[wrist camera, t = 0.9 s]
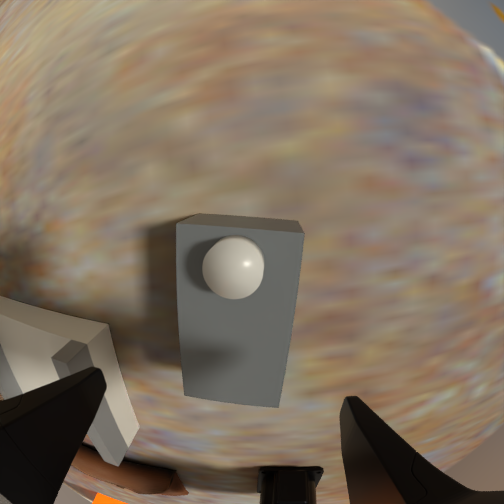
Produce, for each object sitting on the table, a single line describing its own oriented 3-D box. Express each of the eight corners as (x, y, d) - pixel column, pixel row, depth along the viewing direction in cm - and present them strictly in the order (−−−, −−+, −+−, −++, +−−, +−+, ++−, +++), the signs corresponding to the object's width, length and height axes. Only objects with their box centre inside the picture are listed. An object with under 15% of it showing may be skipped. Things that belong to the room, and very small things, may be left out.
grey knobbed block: (279, 367, 18) (278, 422, 13) (200, 357, 18) (178, 408, 13) (297, 220, 15) (307, 239, 10) (200, 212, 16) (165, 227, 11)
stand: (139, 426, 21) (118, 466, 16) (33, 384, 22) (9, 408, 17) (108, 324, 18) (66, 363, 13) (1, 295, 19) (-34, 315, 14)
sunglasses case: (88, 465, 26) (63, 478, 20) (80, 429, 28) (52, 438, 22) (193, 495, 25) (176, 519, 18) (187, 456, 27) (168, 478, 20)
